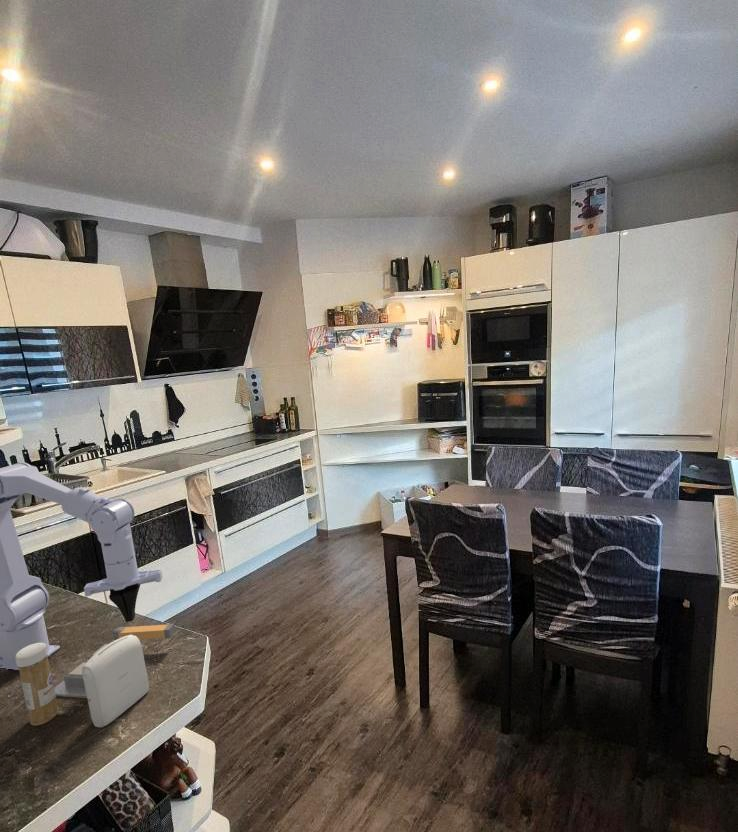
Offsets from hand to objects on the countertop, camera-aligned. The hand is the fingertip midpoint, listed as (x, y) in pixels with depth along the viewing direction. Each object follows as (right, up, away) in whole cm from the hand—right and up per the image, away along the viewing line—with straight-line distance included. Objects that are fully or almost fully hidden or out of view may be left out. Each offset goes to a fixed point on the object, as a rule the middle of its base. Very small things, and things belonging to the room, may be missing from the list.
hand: (130, 619), depth 97 cm
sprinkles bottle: (-8, -12, -14) cm, 20 cm away
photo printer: (+5, -11, -13) cm, 18 cm away
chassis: (-6, -10, -1) cm, 12 cm away
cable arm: (+1, -6, +4) cm, 7 cm away
